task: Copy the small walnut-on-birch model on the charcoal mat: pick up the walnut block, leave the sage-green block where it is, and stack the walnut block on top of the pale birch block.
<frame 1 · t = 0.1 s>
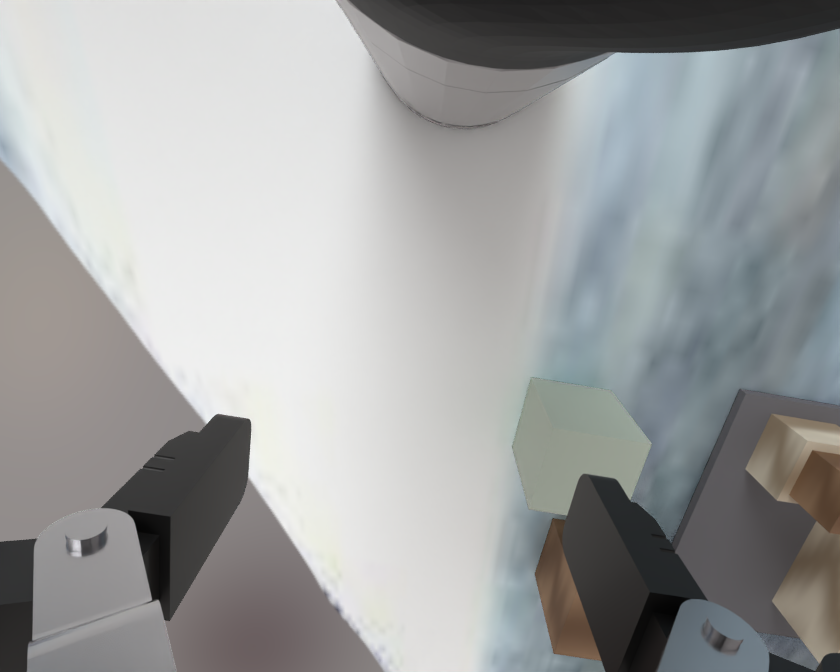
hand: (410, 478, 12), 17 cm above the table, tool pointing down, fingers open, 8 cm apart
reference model: (789, 447, 30), resting on charcoal mat
walnut block: (578, 551, 34), on the table
sage block: (560, 418, 30), on the table
charcoal mat: (817, 529, 33), on the table
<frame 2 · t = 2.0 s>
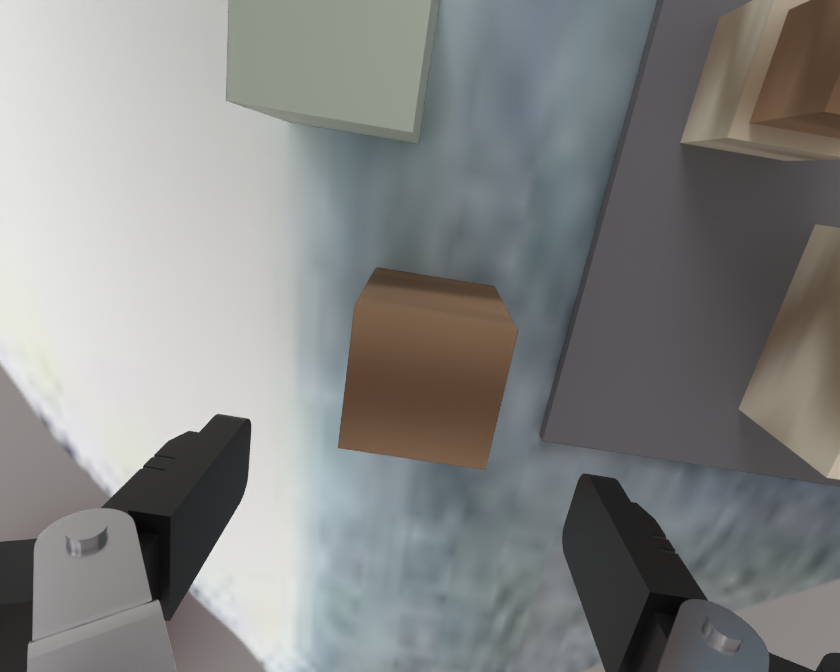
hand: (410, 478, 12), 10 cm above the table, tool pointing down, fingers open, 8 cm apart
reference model: (753, 92, 17), resting on charcoal mat
walnut block: (425, 332, 21), on the table
sage block: (361, 60, 18), on the table
charcoal mat: (807, 276, 20), on the table
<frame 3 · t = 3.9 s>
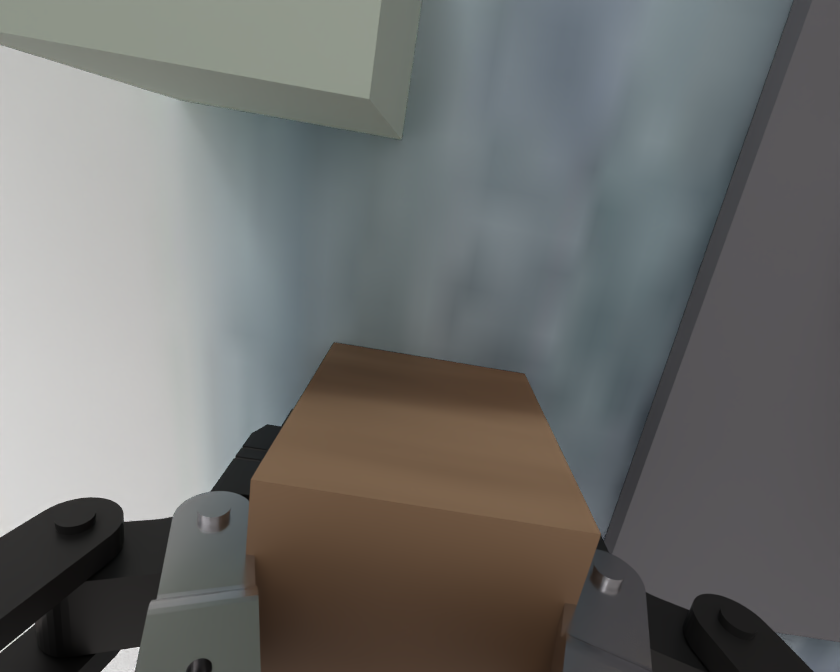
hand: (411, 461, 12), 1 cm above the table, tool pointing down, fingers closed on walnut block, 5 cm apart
walnut block: (414, 442, 13), on the table, touching gripper
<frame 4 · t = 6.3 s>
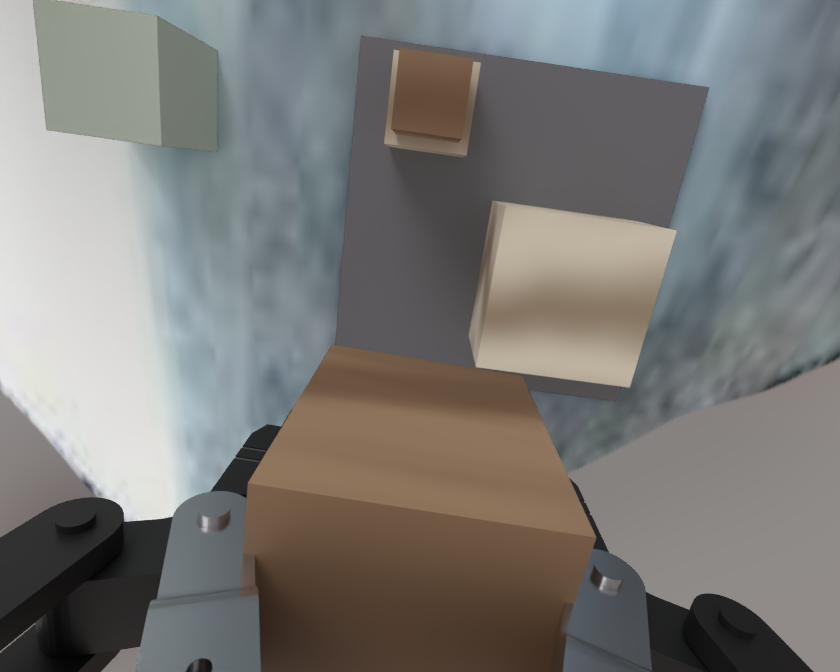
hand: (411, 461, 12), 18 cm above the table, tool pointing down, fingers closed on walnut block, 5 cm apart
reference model: (431, 111, 26), resting on charcoal mat
walnut block: (412, 444, 13), point 17 cm above the table, touching gripper
sage block: (171, 95, 26), on the table
birch base block: (547, 280, 28), point 1 cm above the table, touching charcoal mat
charcoal mat: (501, 237, 28), on the table
when the fingers open (8 cm above the table, at t = 8.7 s): walnut block drops 2 cm, resting on birch base block.
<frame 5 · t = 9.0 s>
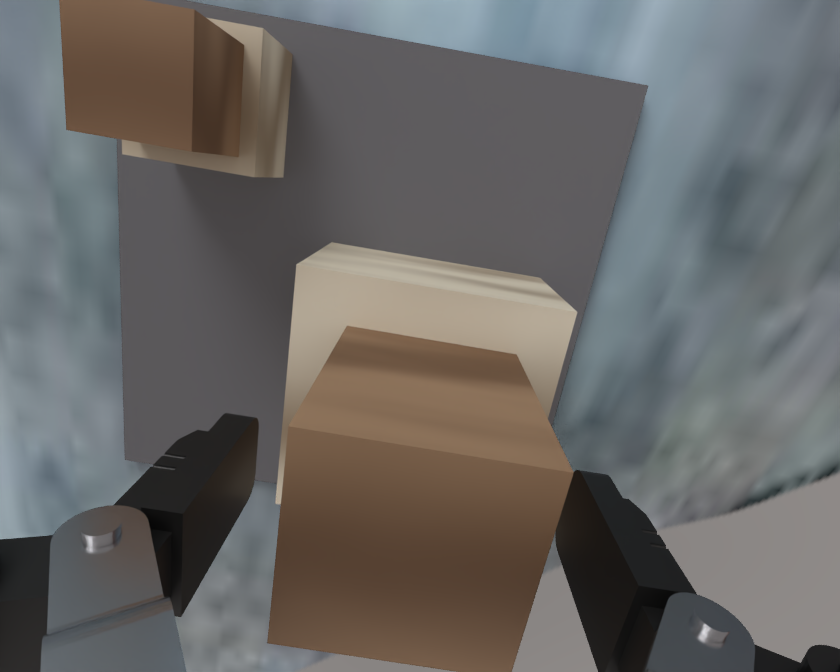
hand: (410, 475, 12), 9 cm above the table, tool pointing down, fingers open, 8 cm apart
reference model: (230, 108, 17), resting on charcoal mat
walnut block: (417, 416, 15), point 6 cm above the table, touching birch base block
birch base block: (419, 357, 20), point 1 cm above the table, touching charcoal mat, walnut block
charcoal mat: (354, 294, 19), on the table
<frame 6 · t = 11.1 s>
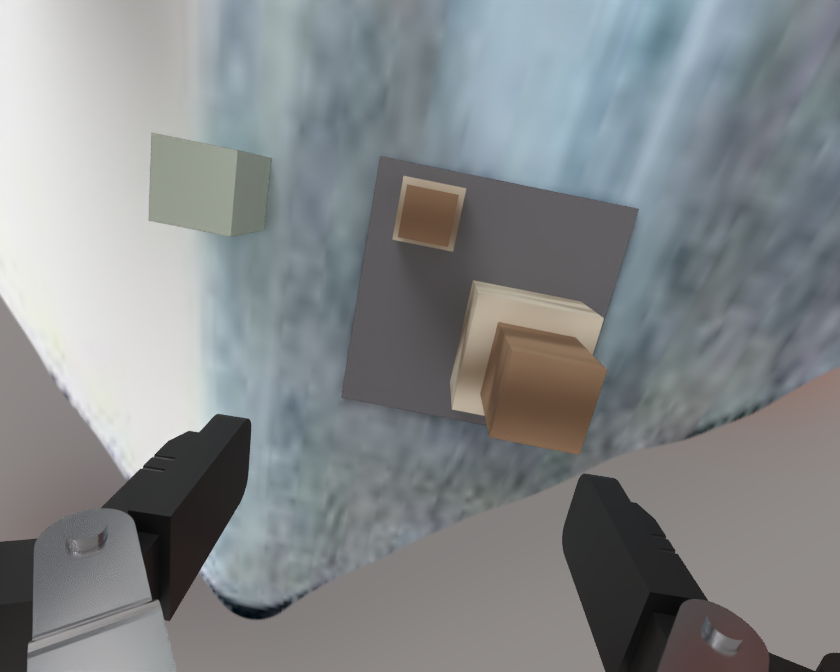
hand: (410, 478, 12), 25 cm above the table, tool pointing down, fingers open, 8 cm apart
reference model: (429, 212, 34), resting on charcoal mat
walnut block: (526, 366, 31), point 6 cm above the table, touching birch base block
sage block: (233, 187, 34), on the table
birch base block: (513, 342, 36), point 1 cm above the table, touching charcoal mat, walnut block
charcoal mat: (479, 307, 36), on the table
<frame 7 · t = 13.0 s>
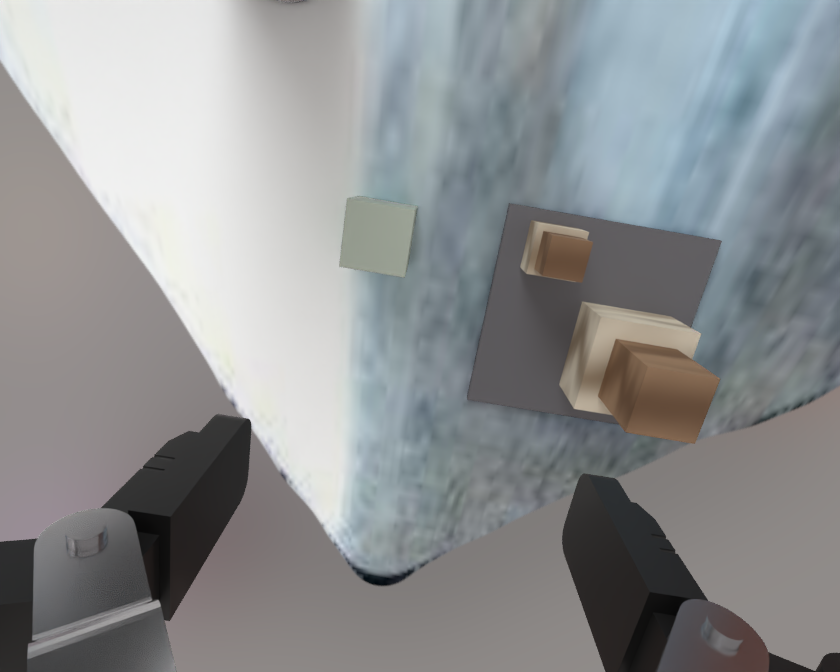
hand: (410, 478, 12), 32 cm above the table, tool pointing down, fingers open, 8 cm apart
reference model: (548, 248, 41), resting on charcoal mat
walnut block: (636, 372, 39), point 6 cm above the table, touching birch base block
sage block: (384, 230, 42), on the table
birch base block: (613, 351, 44), point 1 cm above the table, touching charcoal mat, walnut block
charcoal mat: (585, 322, 44), on the table
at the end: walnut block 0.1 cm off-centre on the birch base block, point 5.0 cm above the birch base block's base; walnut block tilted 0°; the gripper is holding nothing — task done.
